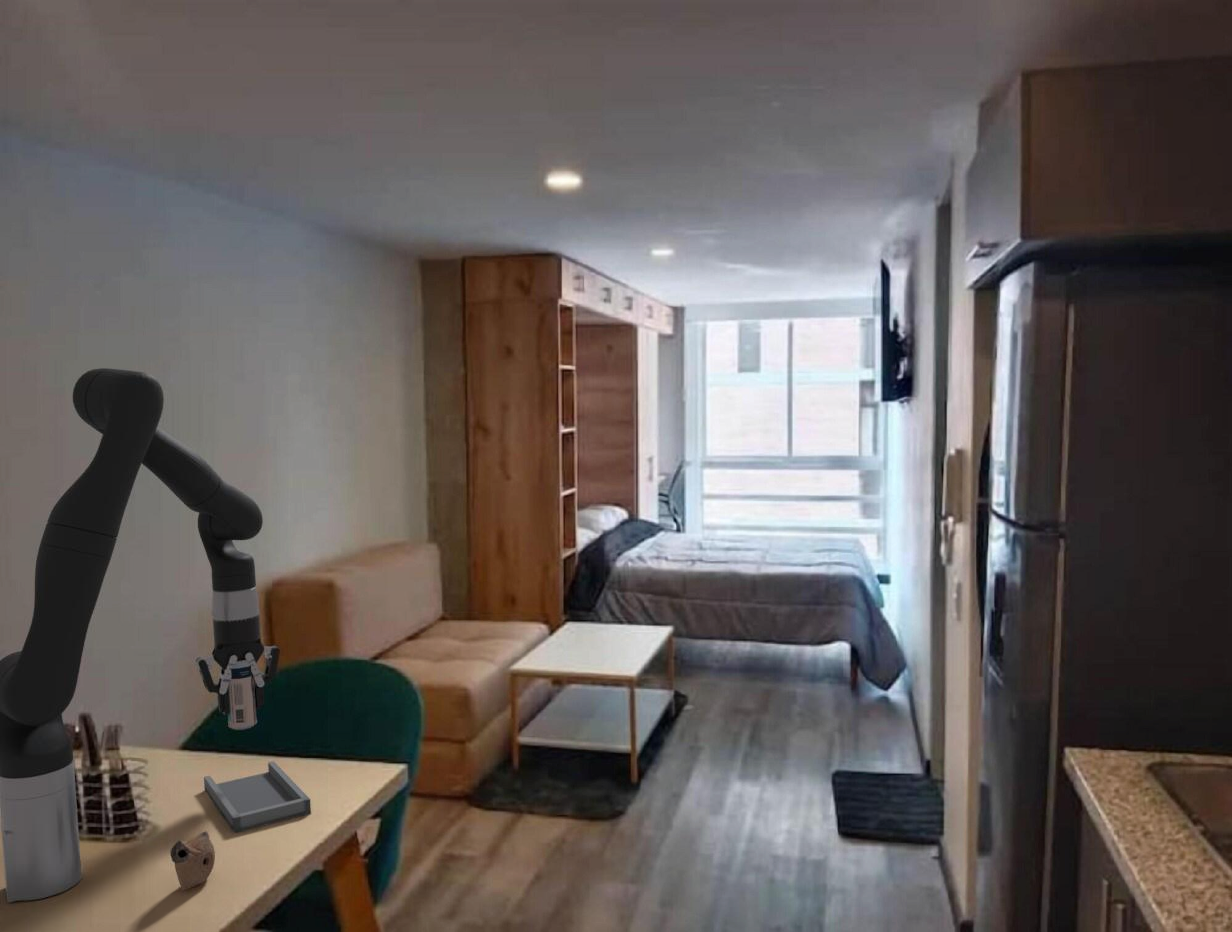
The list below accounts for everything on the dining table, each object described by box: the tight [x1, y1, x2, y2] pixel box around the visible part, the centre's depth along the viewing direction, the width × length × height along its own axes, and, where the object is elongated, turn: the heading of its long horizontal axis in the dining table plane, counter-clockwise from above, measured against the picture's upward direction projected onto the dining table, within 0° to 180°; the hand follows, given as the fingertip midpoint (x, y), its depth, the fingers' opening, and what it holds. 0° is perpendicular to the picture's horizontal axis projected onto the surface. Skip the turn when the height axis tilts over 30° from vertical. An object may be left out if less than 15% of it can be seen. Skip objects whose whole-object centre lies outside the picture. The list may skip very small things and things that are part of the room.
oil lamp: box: [169, 831, 216, 891], centre depth 137 cm, size 9×4×8 cm, turn 173°
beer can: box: [226, 660, 258, 731], centre depth 171 cm, size 5×5×12 cm
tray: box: [203, 760, 312, 834], centre depth 167 cm, size 12×22×2 cm, turn 34°
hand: (241, 710), depth 172 cm, fingers closed on beer can, 4 cm apart
